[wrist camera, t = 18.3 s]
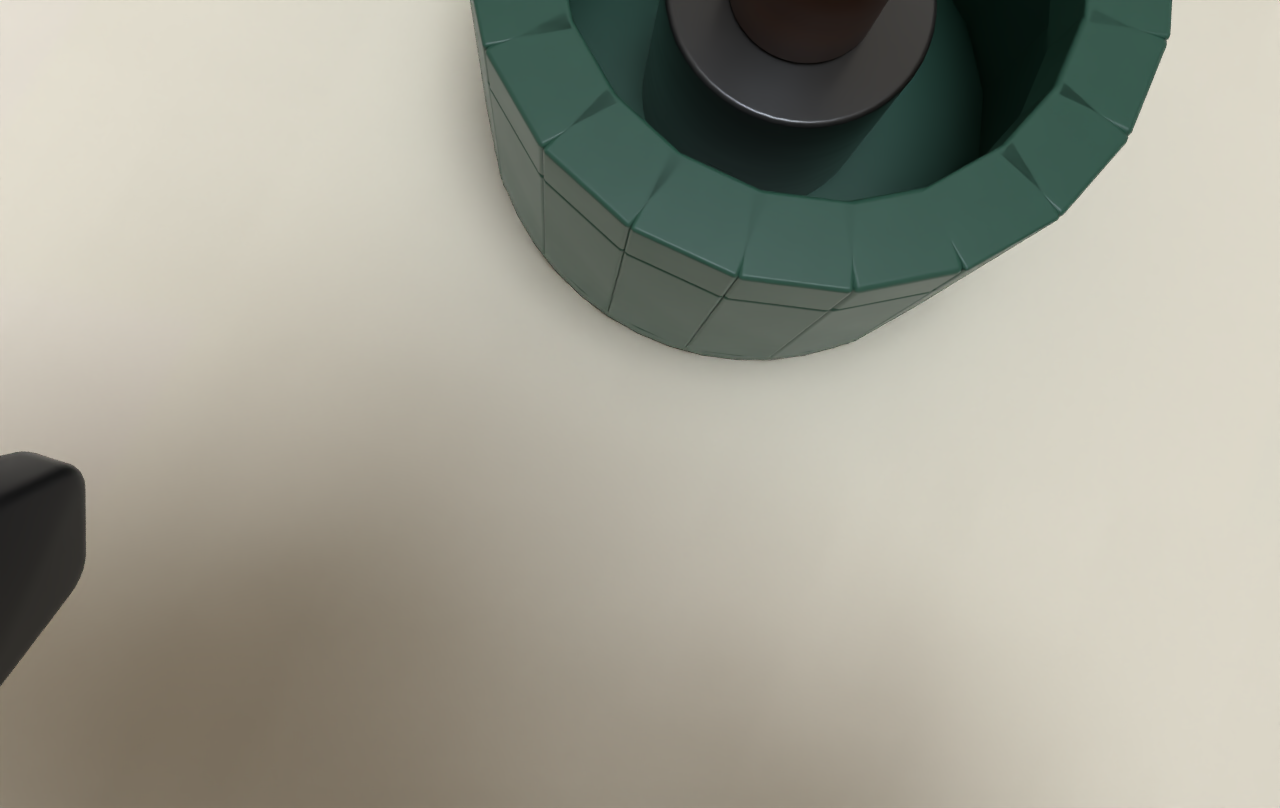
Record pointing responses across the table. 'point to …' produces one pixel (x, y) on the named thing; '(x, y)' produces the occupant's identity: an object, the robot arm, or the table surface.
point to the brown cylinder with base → (780, 81)
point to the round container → (833, 213)
